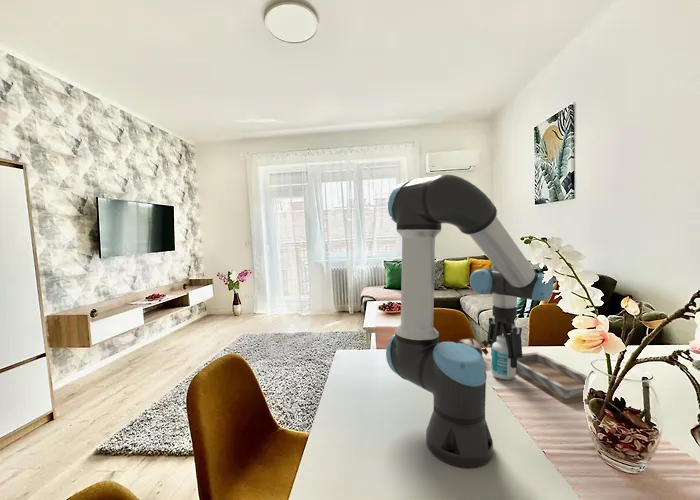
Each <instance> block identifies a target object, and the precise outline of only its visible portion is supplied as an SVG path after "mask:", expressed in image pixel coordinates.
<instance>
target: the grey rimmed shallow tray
mask: <svg viewBox="0 0 700 500" xmlns="http://www.w3.org/2000/svg"><path fill="white" fill-rule="evenodd" d="M522 356H523V357H522V358H517V368H516V376H518V377H520V378H521V379H523V380H525V381H526V382H528V383H529V384H531V385H533V386H535V387H536V388H538V389H539V390H541V391H542V392H544V393H546V394H548V395H549V396H551V397H553V399H556V400H558V401H559V402H560V403H563V404H570V403H576V402H582V401H584V400H583V390H584V385H585V380H586V378H587V376H588V375H586V374H584V373H582V372H581V371H577V370H576V369H573V368H572V367H569V366H567V365H565V364H562V363H561V362H559V361H557V360H554V359H552V358H550V357H548V356H546V355H544V354H542V353H540V352H537V351H536V352H529V353H527V352H526V353H522Z"/></svg>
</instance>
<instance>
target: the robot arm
mask: <svg viewBox="0 0 700 500" xmlns="http://www.w3.org/2000/svg"><path fill="white" fill-rule="evenodd" d="M387 211H388V214H389V215H388V216H389V217H391V220H392V221H393V222H394V223H395V224H396V232H397V233H398V234H399V235H400V236H401V285H400V286H401V291H400V294H401V295H400V297H401V298H400V299H401V300H400V325H399V326H398V327H397V328H396V329H395V330H394V334H393V335H392V336H391V337H390V339H389V342H388V343H387V345H386V351H385V355H386V358H385V359H386V363H387V365H388V367H389V368H390V370H391V371H392V372H393V373H395V374H396V375H398V376H399V377H401V379H403V380H405V381H408V382H410V383H412V384H413V385H416V386H418V387H419V388H421V389H423V390H425V391H427V392H429V393H431V394H432V395H433V411H432V413H431V416H430V419H429V422H428V425H427V427H426V433H425V441H426V442H425V443H426V445H427V449H429V451H430V452H431V454H433V455H434V456H435V457H436V458H438V459H439V460H441V461H442V462H445V463H447V464H448V465H452V466H453V467H459V468H464V467H465V468H466V469H467V468H468V469H470V468H469V467H474V468H479V467H478V466H480V467H482V465H483V466H485V465H486V464H488V463H489V462H490V461H491V460H492V459H493V456H494V455H493V454H494V442H493V438H492V435H491V433H490V430H489V429H490V428H489V425H488V423H487V420H486V397H487V395H486V393H487V391H486V390H487V387H486V386H487V378H488V377H487V370H486V368H487V367H486V361H485V359H484V356H483V355H481V354H480V353H479V352H478V351H477V350H475V349H474V348H472V347H470V346H467V345H465V344H462V343H460V342H454V341H441V342H440V333H439V331H438V330H437V329H436V328H435V327H434V312H435V311H434V305H435V303H434V302H435V301H434V298H435V263H436V262H435V260H436V259H435V258H436V256H435V255H436V253H435V252H436V251H435V249H436V237H437V236H438V235H439V234H440V233H441V232H442V224H449V225H453V226H455V227H456V228H458V230H459V231H460V232H461V233H463V234H464V235H469V236H470V238H471V239H472V240H473V241H474V243H475V244H476V245H477V246H478V247H479V248H480V250H481V251H482V252H483V253H484V255H485V256H486V257H487V258H488V259H489V261H490V262H491V264H492V265H493V266H492V267H490V268H489V267H488V268H481V269H477V270H476V269H475V270H474V271H473V272H471V274H470V276H469V285H470V286H469V287H471V289H472V290H473V291H474V292H476V293H477V294H490V293H492V304H493V305H492V316H493V317H489V318H488V332H487V339H486V341H487V343H488V345H490V346H489V347H490V350H491V351H490V352H491V353H490V355H491V357H492V345H493V343H494V342H497V336H499V335H503V336H504V337H505V339H506V343H507V347H508V352H509V356H510V357H508V360H507V376H508V377H514V376H515V377H516V376H517V374H516V368H517V358H522V357H523V356H522V354H523V346H522V345H523V344H522V330H523V329H522V327H517V325H516V323H515V320H516V319H517V317H518V315H517V314H518V307H517V306H518V298H521V299H526V300H531V301H539V302H540V301H541V302H546V301H548V300H549V299H550V298H551V297H552V294H553V291H554V281H553V279H552V277H551V279H550V280H549V282H548V283H546V284H545V283H542V280H543V274H544V273H542V272H541V273H537V272H536V270H535V269H534V268H533V266H532V265H531V263H530V262H529V261H528V259H527V258H526V257H525V255H524V253H523V252H522V251H521V250H520V248H519V246H518V245H517V243H516V242H515V241H514V239H513V238H512V236H511V235H510V234H509V232H508V231H507V229H506V227H505V226H504V225H503V224H502V222H501V221H500V219H499V218H498V217H497V215H498V210H497V207H496V206H495V204H494V203H493V201H492V200H491V199H490V198H489V197H488V196H487V194H486V193H485V192H483V190H481V189H480V188H479V187H478V186H476V185H475V184H474V183H472V182H470V181H468V180H466V179H465V178H463V177H460V176H458V175H453V174H439V175H436V176H430V177H429V176H428V177H423V178H416V179H410V180H408V181H405V182H402V183H400V184H398V185H396V186H395V188H394V189H392V191H391V193H390V195H389V198H388V203H387ZM515 377H514V378H515Z"/></svg>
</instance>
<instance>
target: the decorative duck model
mask: <svg viewBox="0 0 700 500" xmlns="http://www.w3.org/2000/svg"><path fill="white" fill-rule="evenodd" d="M458 343H462V344H465V345H467V346H470V347H472V348H474V349H475V350H477V351H478V352H479V353H480V354H481V355H482V356H483V354H484V356H487V355H488V354H489V351H488V349H487V347H488V346H489V344H488V343H487V339H485V340H483V341H481V342H478V341H477V340H476V339H474V338H464V339H463V338H461V339H459V341H458ZM481 344H482V346H484V348H482V346H481Z"/></svg>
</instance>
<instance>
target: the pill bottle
mask: <svg viewBox="0 0 700 500" xmlns="http://www.w3.org/2000/svg"><path fill="white" fill-rule="evenodd" d="M508 357H510V356H509V352H508V347H507V343H506V339H505V337H504V336H503V334H502V335H499V336H497V342H494V343H493V345H492V356H491V366H490V367H491V371H490V372H491V374H492V375H493V376H494V377H495V378H497V379H500V380H505V381H506V380H508V381H509V380H513V379H515V377H516V376H514V377H508V376H507V360H508Z"/></svg>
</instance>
